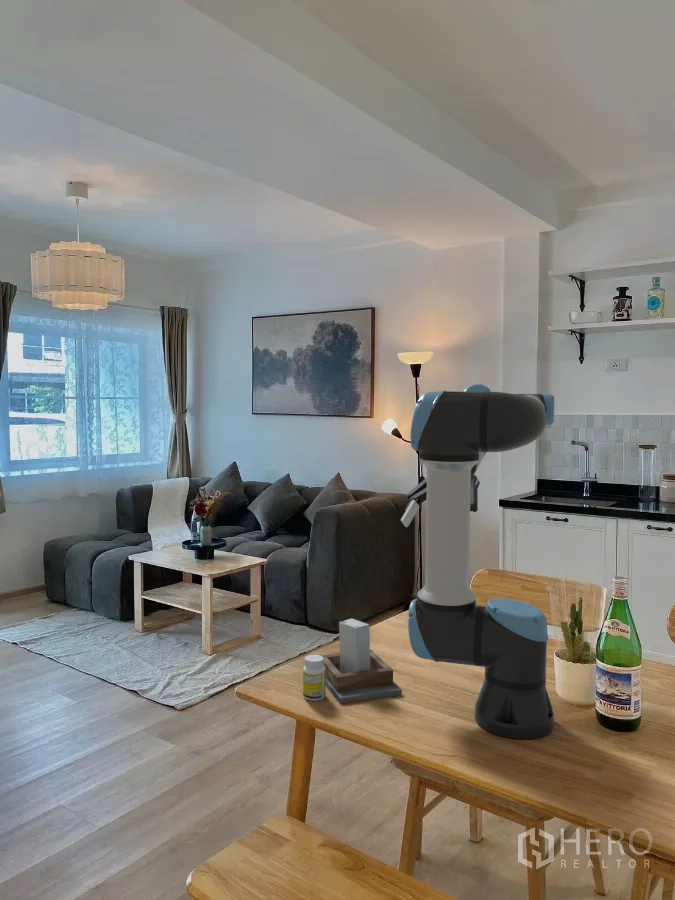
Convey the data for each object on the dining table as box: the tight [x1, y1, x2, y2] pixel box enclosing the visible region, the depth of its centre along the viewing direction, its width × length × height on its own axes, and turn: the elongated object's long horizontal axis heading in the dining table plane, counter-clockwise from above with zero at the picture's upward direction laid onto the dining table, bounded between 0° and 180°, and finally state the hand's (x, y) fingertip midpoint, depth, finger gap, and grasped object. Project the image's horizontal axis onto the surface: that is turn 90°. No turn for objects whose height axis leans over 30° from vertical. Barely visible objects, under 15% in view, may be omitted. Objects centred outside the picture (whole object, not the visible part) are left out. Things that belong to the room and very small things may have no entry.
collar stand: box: [320, 649, 403, 704], centre depth 156 cm, size 20×14×4 cm
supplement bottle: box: [302, 654, 326, 702], centre depth 148 cm, size 5×5×8 cm
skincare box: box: [338, 618, 371, 674], centre depth 156 cm, size 6×4×12 cm
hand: (425, 527), depth 167 cm, fingers open, 13 cm apart
